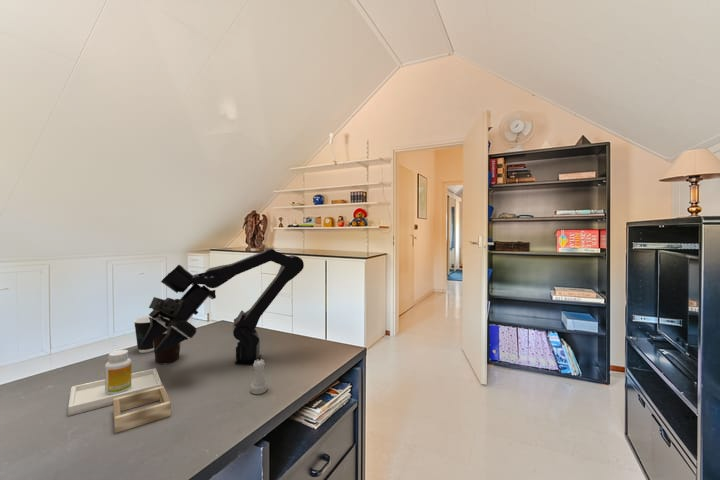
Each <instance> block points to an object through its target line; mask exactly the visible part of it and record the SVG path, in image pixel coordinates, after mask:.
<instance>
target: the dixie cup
mask: <svg viewBox="0 0 720 480" xmlns="http://www.w3.org/2000/svg"><path fill="white" fill-rule="evenodd" d="M149 317H151V316H149V315H148V316H141V317H138V318H135V319H133V321H132V322H133V323H134V330H135V339H136V345H137V346H136V347H137V350H138V352H139V353H145V354H146V353H149V352H151V353H152V352H154V346H153V341H152V342H150V343H149V344H147V345H146V346H142V345H141V343H142V341H143V339H144V337H145V335H146V333H147V331H148V329H149V327H150V320H149ZM151 318H152V317H151Z"/></svg>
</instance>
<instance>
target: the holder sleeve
mask: <svg viewBox="0 0 720 480" xmlns="http://www.w3.org/2000/svg"><path fill="white" fill-rule="evenodd" d="M155 402H159V404H156V405H155V404H154V405H151V406H147V407H144V408H141V409H137V410H134V411H130V412H126V413H123V414H121V412H123V411H126V410H130V409H134V408H138V407H141V406H145V405H149V404H151V403H155ZM112 409H113V410H112V411H113V412H112V413H113V414H112V415H113V425H114V426H113V427H114V434H116V433H117V434H118V433H120V432H123V431H126V430H130V429H133V428H136V427H139V426H142V425H146V424H150V423H151V422H152V423H153V422H155V421H159V420H162V419H166V418H168V417H171V411H172V410H171V401H170V398H169V396H168V394H167V390H166V388H165V386H164V385H162V386H161V387H157V388H153V389H149V390H145V391H141V392H137V393H133V394H129V395H125V396H121V397H117V398H114V399H113V405H112Z"/></svg>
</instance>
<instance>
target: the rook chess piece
mask: <svg viewBox="0 0 720 480" xmlns="http://www.w3.org/2000/svg"><path fill="white" fill-rule="evenodd" d="M265 366H266V362H265V359H262V358H260V359H258V360H257V361H256V360H255V361H254V364H252V367H253V368H254V370H253V372H254V374H253V381H251V383H250V389H249V391H250V393H251V394H253V395H262V394H264V393H265V392H266V391H267V390H268V382H267V380H266V379H265Z"/></svg>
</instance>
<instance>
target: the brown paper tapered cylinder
mask: <svg viewBox="0 0 720 480" xmlns="http://www.w3.org/2000/svg"><path fill="white" fill-rule="evenodd" d="M164 327H166V326H164ZM170 327H172V328H174V327H173V326H170ZM166 328H167V327H166ZM166 334H167V331H166V332H164V333H163V334H161V335H160V336H159V337H157V338H156V339H154V340H153V346H154V350H153V352H154V351H155V350H156V348H157V347H158V345H159V344H160V342H161V341H162V340H163V338H164V337H165V336H166ZM181 343H182V342H180V343H178V344H176V345H174V346H172V347H170V348H168V349H166V350H165V351H163V352H161V353H159V354H155V353H154V360H155V363H156V364H158V365H165V364H166V365H167V364H172V363H174V362H176V361H178V360H179V359H180V351H181V345H182V344H181Z"/></svg>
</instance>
